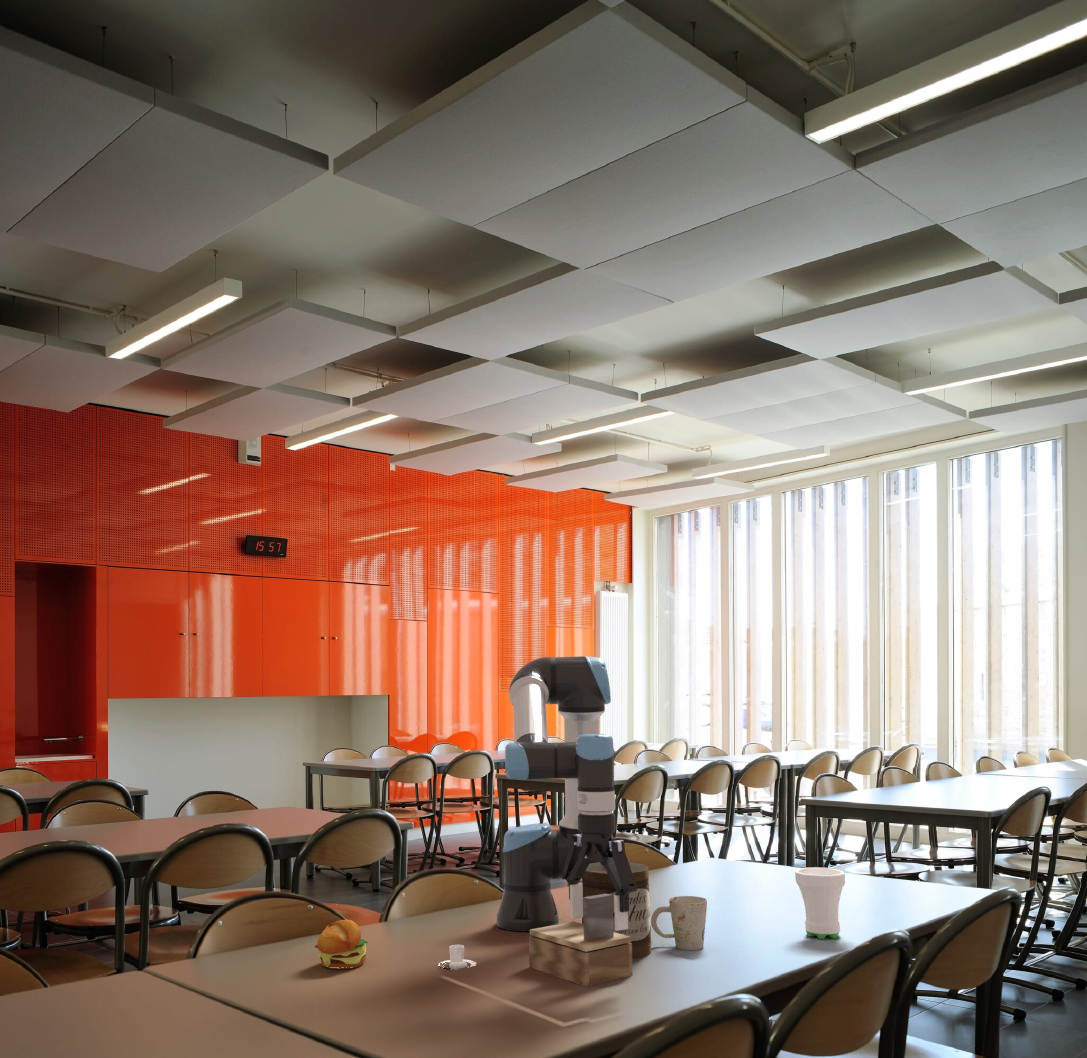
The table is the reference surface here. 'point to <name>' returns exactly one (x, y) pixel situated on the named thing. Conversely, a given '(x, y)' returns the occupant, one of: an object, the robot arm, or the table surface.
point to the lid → (587, 927)
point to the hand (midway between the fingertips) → (598, 923)
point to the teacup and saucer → (457, 958)
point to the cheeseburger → (341, 945)
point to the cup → (821, 899)
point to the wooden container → (639, 903)
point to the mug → (684, 921)
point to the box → (580, 961)
